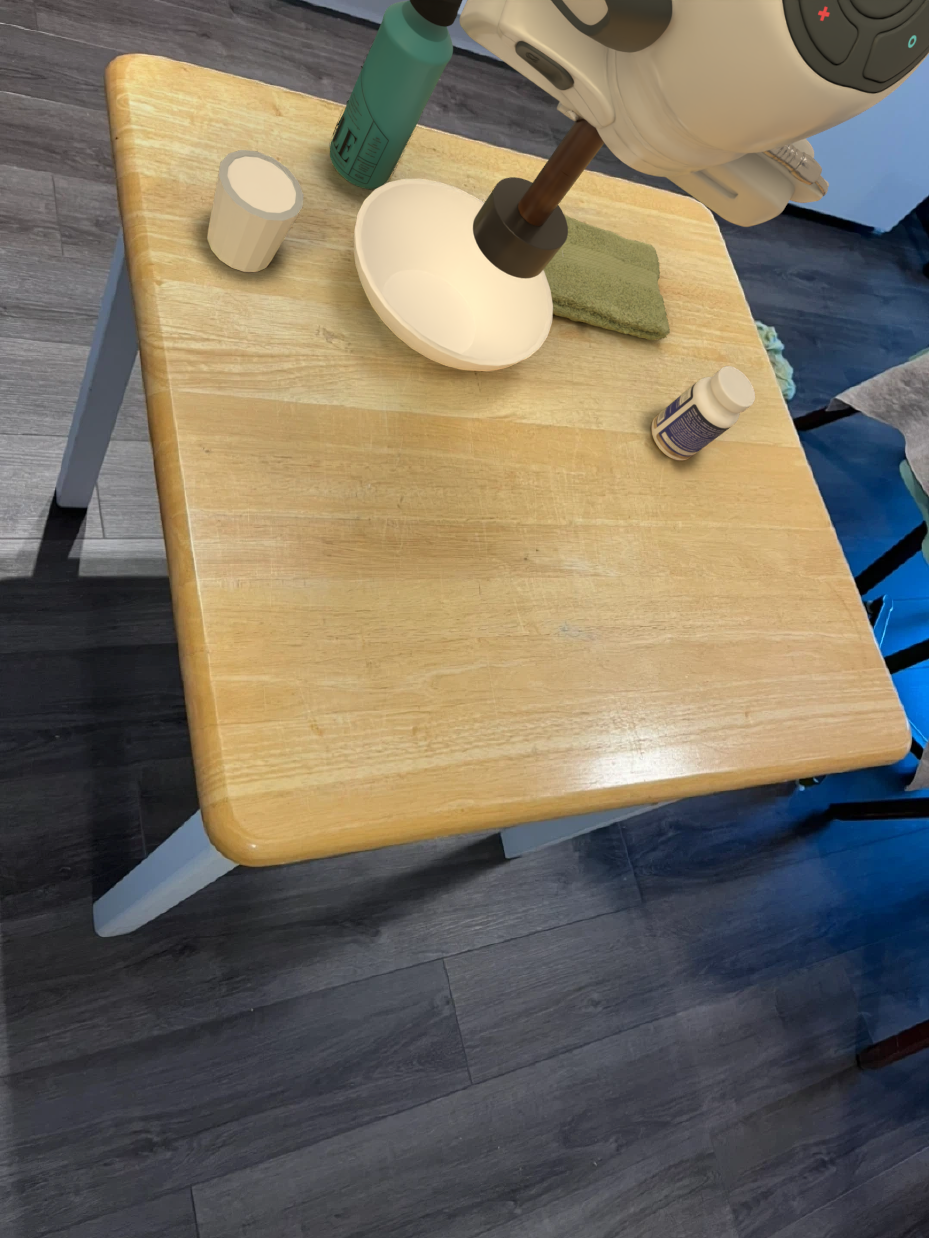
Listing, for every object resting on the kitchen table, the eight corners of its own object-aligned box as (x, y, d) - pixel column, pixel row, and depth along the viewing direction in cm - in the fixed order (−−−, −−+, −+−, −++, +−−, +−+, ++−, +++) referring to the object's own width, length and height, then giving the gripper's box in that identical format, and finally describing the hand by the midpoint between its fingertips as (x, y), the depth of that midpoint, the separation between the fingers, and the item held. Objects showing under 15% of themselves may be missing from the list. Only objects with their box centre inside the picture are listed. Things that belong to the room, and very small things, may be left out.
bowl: (290, 319, 75) (316, 265, 70) (378, 197, 85) (407, 141, 80) (477, 447, 80) (515, 406, 75) (539, 317, 90) (577, 272, 85)
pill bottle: (698, 462, 94) (767, 412, 86) (658, 462, 91) (726, 410, 83) (681, 416, 96) (748, 362, 87) (642, 414, 93) (707, 358, 84)
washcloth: (514, 212, 94) (530, 190, 92) (645, 261, 102) (663, 242, 100) (525, 310, 90) (542, 290, 87) (661, 354, 98) (680, 336, 95)
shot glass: (294, 255, 78) (320, 197, 72) (246, 291, 74) (270, 233, 68) (234, 199, 77) (255, 136, 71) (182, 233, 73) (200, 169, 67)
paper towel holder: (456, 217, 61) (611, -29, 46) (512, 201, 64) (673, -33, 50) (506, 287, 61) (678, 62, 46) (559, 268, 64) (735, 52, 49)
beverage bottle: (397, 193, 87) (496, 8, 70) (351, 211, 83) (444, 21, 67) (354, 141, 87) (444, -57, 70) (306, 157, 83) (389, -48, 66)
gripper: (880, 132, 44) (751, 165, 57) (541, -143, 38) (481, -36, 50) (807, 250, 46) (698, 257, 58) (470, 4, 39) (429, 72, 52)
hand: (595, 119), depth 54 cm, fingers closed on paper towel holder, 2 cm apart
